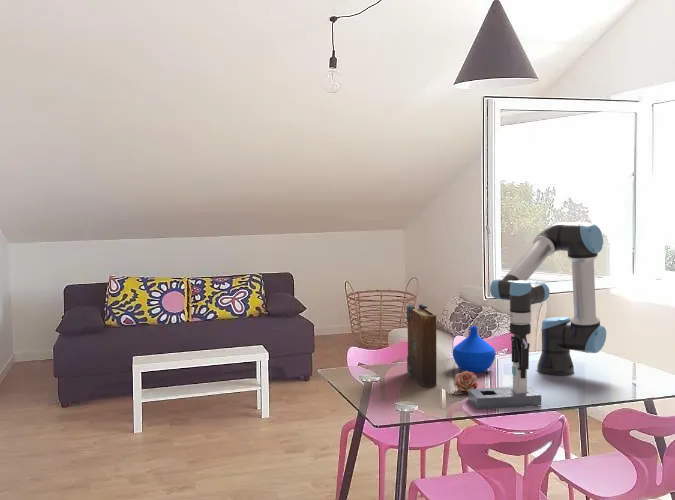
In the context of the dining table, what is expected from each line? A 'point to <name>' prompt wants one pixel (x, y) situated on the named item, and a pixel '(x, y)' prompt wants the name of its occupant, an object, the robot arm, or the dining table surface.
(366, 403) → the dining table surface
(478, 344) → the vase
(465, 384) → the flower
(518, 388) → the plug
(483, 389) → the panel
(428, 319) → the decorative book
